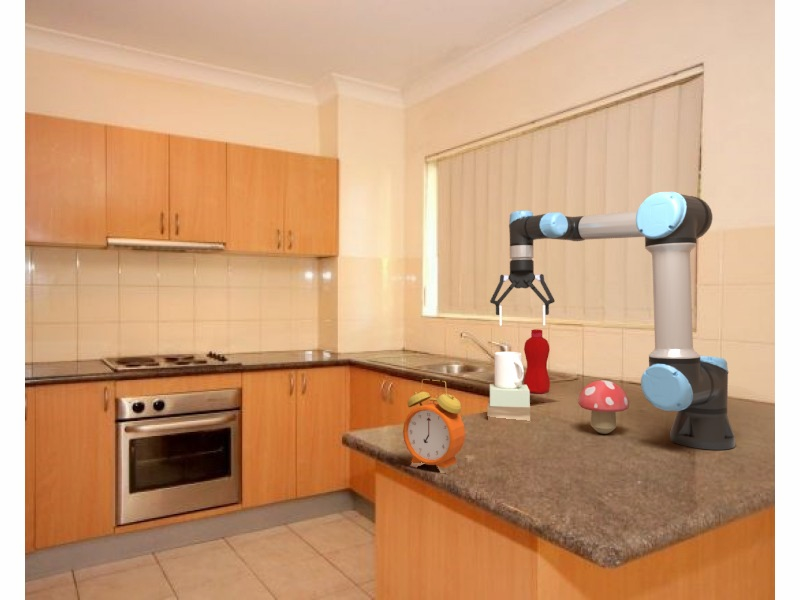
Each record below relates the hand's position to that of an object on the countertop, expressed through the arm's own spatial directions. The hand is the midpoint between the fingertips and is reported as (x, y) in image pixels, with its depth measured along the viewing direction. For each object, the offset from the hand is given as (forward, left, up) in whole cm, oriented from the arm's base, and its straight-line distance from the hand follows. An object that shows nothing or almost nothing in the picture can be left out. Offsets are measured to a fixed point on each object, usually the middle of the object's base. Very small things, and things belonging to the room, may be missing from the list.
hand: (522, 325), depth 181 cm
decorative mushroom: (-19, -23, -29) cm, 42 cm away
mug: (-3, +3, -20) cm, 20 cm away
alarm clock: (-59, +19, -29) cm, 69 cm away
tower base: (-2, +4, -30) cm, 30 cm away
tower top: (-3, +4, -25) cm, 25 cm away
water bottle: (+46, -6, -29) cm, 55 cm away
